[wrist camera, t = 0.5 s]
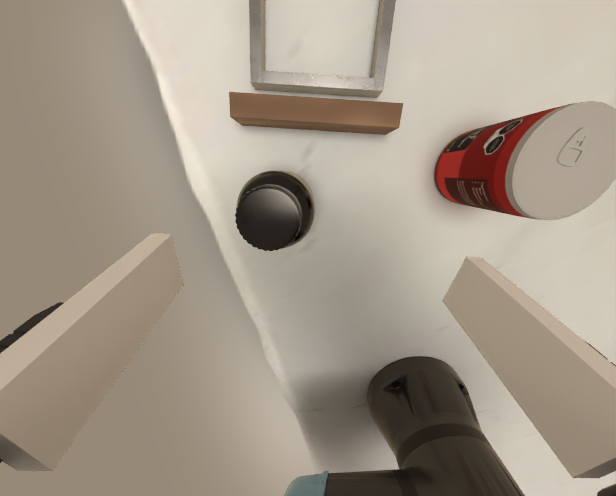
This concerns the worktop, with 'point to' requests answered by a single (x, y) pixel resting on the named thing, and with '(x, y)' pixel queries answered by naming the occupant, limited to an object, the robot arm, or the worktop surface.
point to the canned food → (534, 162)
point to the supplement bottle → (274, 210)
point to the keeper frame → (316, 81)
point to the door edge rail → (315, 113)
